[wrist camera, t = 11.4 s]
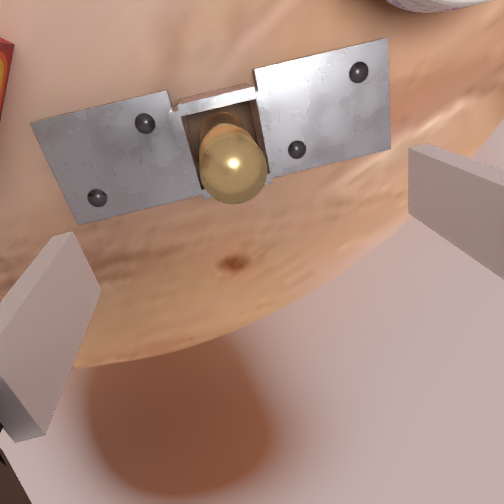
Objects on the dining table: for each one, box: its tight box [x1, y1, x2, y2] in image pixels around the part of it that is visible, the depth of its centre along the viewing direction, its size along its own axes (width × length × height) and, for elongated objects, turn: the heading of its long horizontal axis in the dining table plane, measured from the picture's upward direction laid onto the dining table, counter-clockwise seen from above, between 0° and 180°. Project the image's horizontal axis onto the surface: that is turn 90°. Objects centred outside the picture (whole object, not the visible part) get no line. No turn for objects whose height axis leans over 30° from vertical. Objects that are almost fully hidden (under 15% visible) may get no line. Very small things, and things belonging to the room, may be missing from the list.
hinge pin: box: [199, 112, 268, 204], centre depth 27 cm, size 4×4×12 cm
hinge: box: [30, 38, 391, 225], centre depth 30 cm, size 29×9×5 cm, turn 102°
